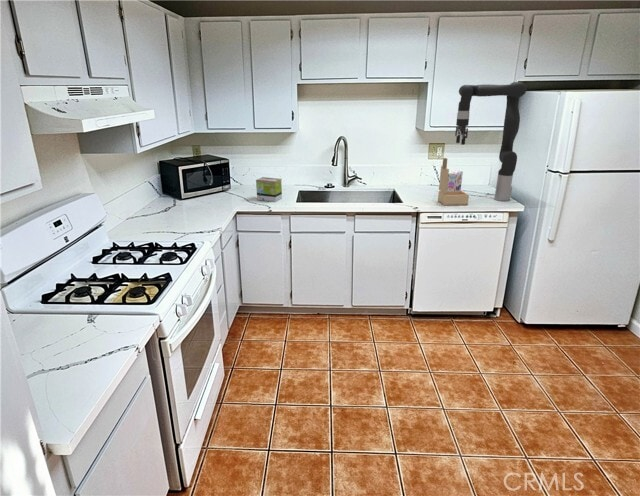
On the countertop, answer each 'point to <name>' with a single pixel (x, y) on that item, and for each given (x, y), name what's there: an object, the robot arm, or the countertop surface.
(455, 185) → the candy box
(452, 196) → the base
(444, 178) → the lid
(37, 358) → the countertop surface
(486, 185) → the countertop surface
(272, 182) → the tea box
